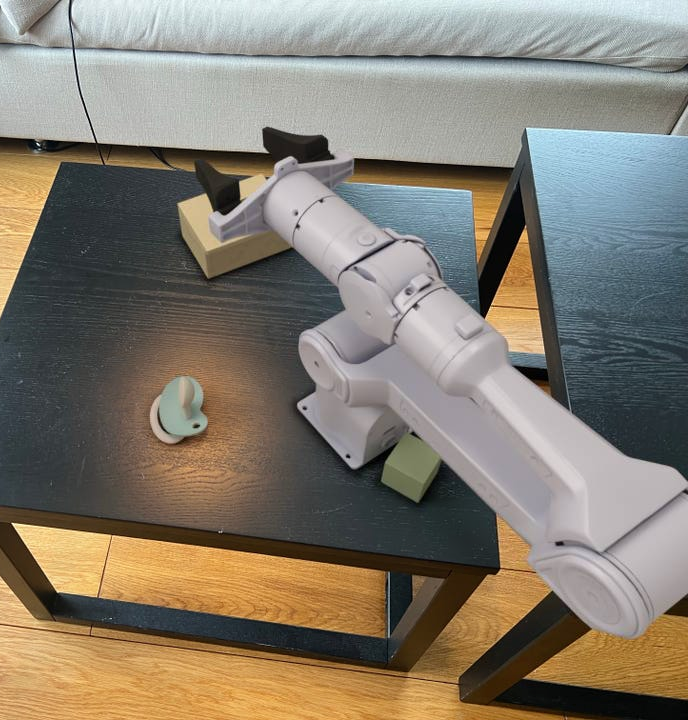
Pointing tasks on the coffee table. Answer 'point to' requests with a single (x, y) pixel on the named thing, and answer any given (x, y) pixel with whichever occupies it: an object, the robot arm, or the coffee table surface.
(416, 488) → the block
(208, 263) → the wooden box
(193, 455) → the coffee table surface
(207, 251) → the lid
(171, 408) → the pacifier
